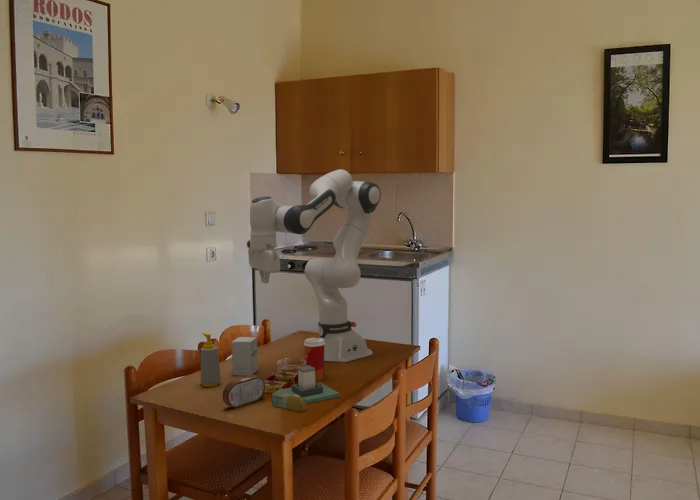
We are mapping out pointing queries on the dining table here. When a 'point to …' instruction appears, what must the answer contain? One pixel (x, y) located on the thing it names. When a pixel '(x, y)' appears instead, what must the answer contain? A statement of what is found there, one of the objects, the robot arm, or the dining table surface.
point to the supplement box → (244, 356)
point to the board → (311, 392)
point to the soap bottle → (209, 364)
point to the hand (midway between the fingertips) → (265, 282)
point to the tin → (243, 391)
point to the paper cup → (315, 356)
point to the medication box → (288, 401)
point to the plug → (306, 377)
